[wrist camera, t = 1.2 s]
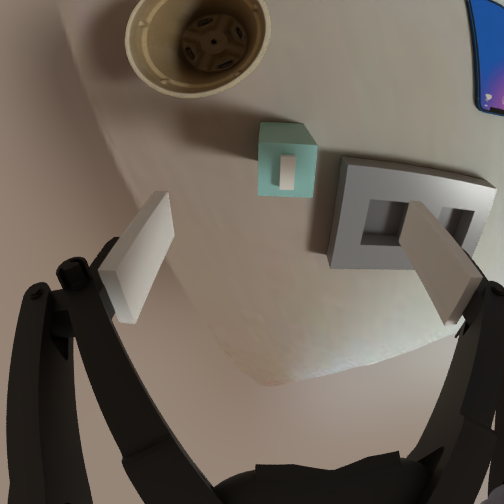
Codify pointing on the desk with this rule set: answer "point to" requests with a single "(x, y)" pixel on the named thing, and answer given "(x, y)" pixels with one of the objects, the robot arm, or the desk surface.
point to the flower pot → (196, 44)
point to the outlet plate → (400, 211)
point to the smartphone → (488, 54)
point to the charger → (286, 160)
